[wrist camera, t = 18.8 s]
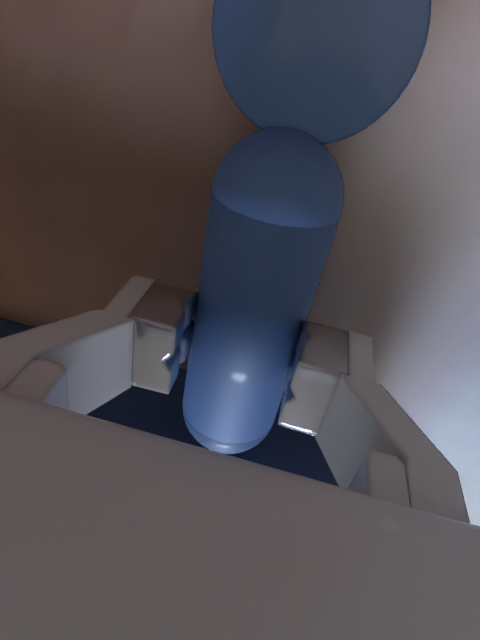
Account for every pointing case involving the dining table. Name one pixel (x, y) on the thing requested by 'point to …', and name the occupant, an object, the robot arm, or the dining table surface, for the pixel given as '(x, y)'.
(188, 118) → the dining table surface
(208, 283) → the blue spoon
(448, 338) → the dining table surface
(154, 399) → the blue bin
